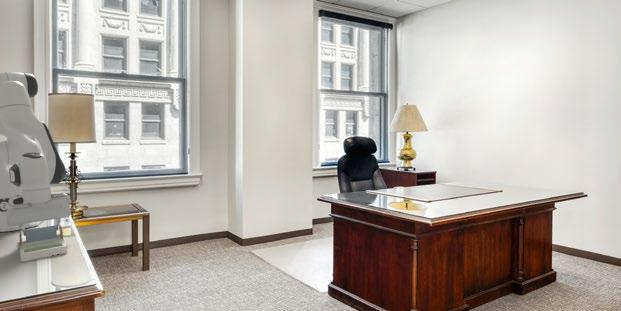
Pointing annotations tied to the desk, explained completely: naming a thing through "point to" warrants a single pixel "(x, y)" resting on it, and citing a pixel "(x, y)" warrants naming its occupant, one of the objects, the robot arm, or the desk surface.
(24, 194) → the robot arm
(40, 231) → the slate bar
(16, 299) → the desk surface
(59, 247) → the tunnel deck
